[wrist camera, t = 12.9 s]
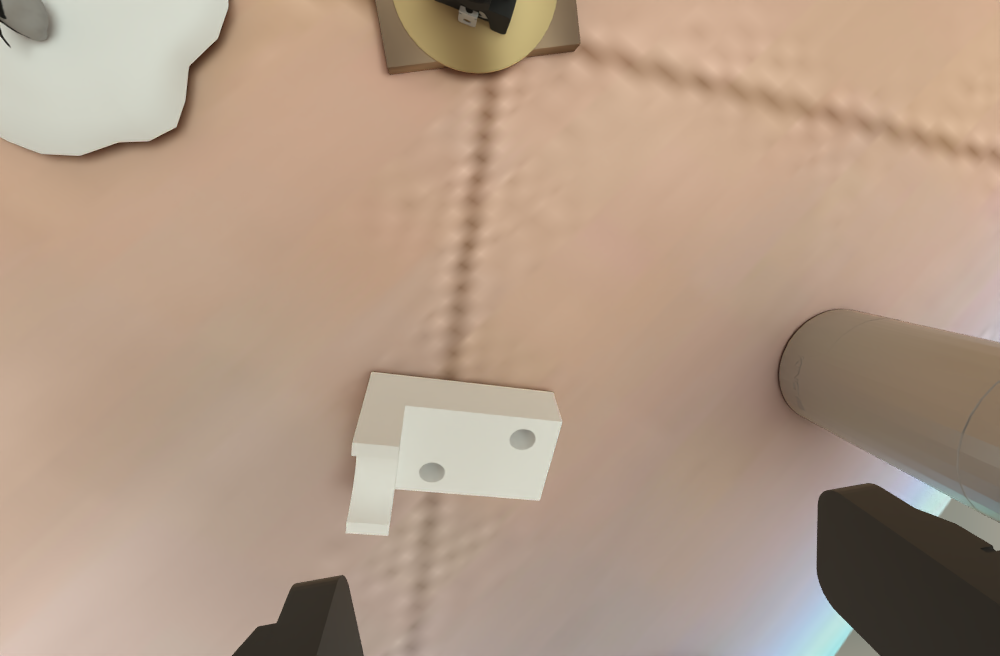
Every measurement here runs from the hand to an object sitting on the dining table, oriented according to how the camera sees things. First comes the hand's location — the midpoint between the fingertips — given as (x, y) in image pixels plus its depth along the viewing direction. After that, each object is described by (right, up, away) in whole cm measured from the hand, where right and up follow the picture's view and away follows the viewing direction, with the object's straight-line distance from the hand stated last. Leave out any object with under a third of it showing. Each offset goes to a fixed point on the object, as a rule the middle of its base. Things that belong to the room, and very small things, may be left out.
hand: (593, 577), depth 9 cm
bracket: (-5, -4, +30) cm, 31 cm away
